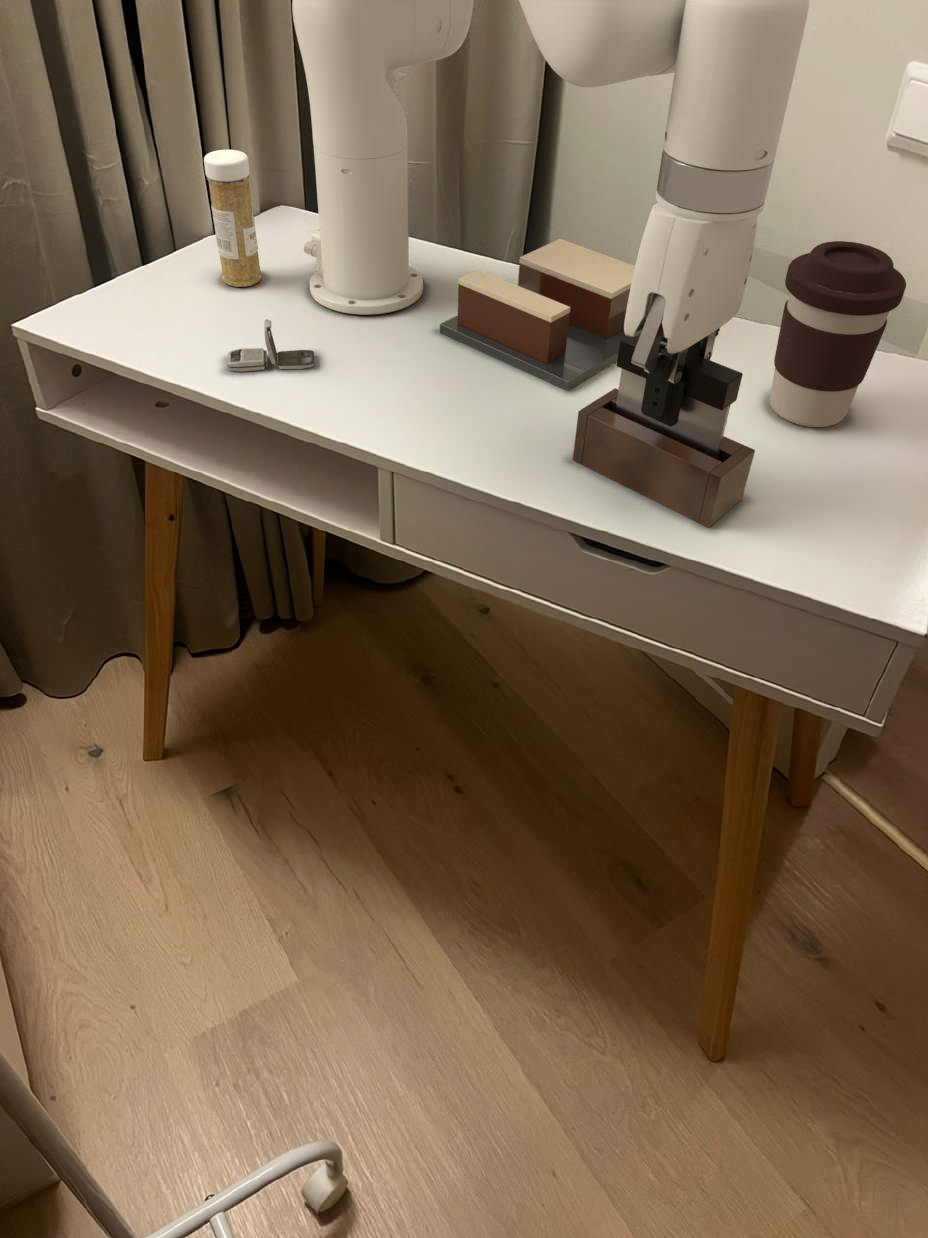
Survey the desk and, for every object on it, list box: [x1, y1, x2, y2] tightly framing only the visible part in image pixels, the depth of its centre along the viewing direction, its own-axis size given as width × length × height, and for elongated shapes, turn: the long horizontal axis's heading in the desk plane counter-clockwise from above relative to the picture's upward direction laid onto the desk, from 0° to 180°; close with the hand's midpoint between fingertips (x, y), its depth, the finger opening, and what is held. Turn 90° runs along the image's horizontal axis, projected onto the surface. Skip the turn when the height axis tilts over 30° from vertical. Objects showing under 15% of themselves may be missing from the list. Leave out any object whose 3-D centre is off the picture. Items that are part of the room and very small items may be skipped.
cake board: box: [439, 238, 635, 392], centre depth 103 cm, size 17×17×6 cm
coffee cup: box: [769, 240, 907, 428], centre depth 90 cm, size 10×10×15 cm
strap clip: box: [226, 319, 316, 373], centre depth 97 cm, size 8×3×4 cm, turn 98°
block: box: [572, 387, 756, 528], centre depth 84 cm, size 14×5×5 cm, turn 48°
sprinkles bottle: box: [203, 149, 263, 288], centre depth 108 cm, size 5×5×13 cm
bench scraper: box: [615, 334, 744, 460], centre depth 82 cm, size 10×2×11 cm, turn 48°
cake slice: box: [457, 269, 570, 364], centre depth 100 cm, size 12×3×5 cm, turn 48°
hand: (669, 410), depth 81 cm, fingers closed on bench scraper, 2 cm apart
